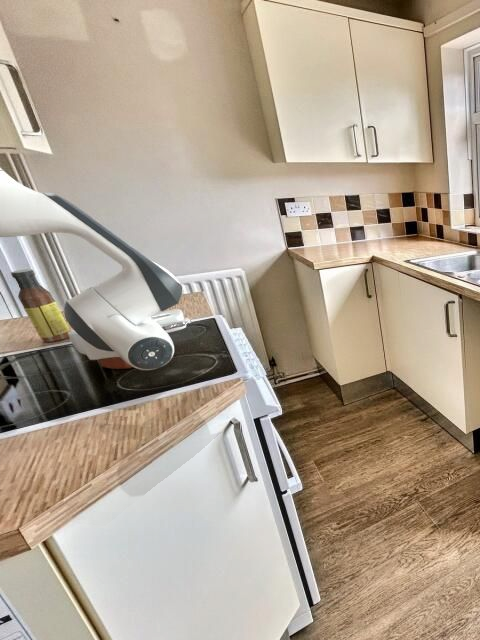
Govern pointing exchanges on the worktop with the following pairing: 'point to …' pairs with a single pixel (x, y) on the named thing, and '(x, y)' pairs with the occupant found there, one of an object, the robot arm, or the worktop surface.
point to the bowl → (114, 363)
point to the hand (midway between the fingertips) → (126, 321)
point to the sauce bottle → (40, 307)
